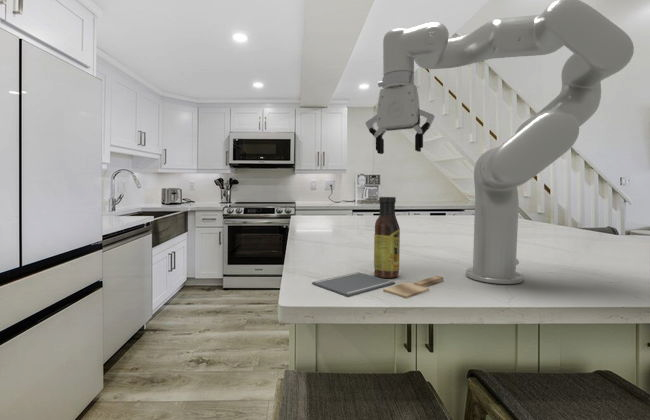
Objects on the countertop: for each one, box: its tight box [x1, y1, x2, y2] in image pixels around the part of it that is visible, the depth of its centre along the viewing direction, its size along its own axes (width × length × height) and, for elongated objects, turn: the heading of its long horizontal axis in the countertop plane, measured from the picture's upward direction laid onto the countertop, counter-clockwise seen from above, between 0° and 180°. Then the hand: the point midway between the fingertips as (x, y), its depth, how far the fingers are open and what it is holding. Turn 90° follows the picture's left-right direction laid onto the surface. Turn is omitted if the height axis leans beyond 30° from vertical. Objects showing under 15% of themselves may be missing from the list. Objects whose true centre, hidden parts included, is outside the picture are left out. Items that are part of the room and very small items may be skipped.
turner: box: [383, 274, 444, 299], centre depth 77 cm, size 17×6×1 cm, turn 130°
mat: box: [311, 271, 396, 298], centre depth 80 cm, size 15×12×1 cm
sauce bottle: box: [373, 196, 401, 279], centre depth 86 cm, size 6×6×20 cm
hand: (398, 152), depth 88 cm, fingers open, 9 cm apart
